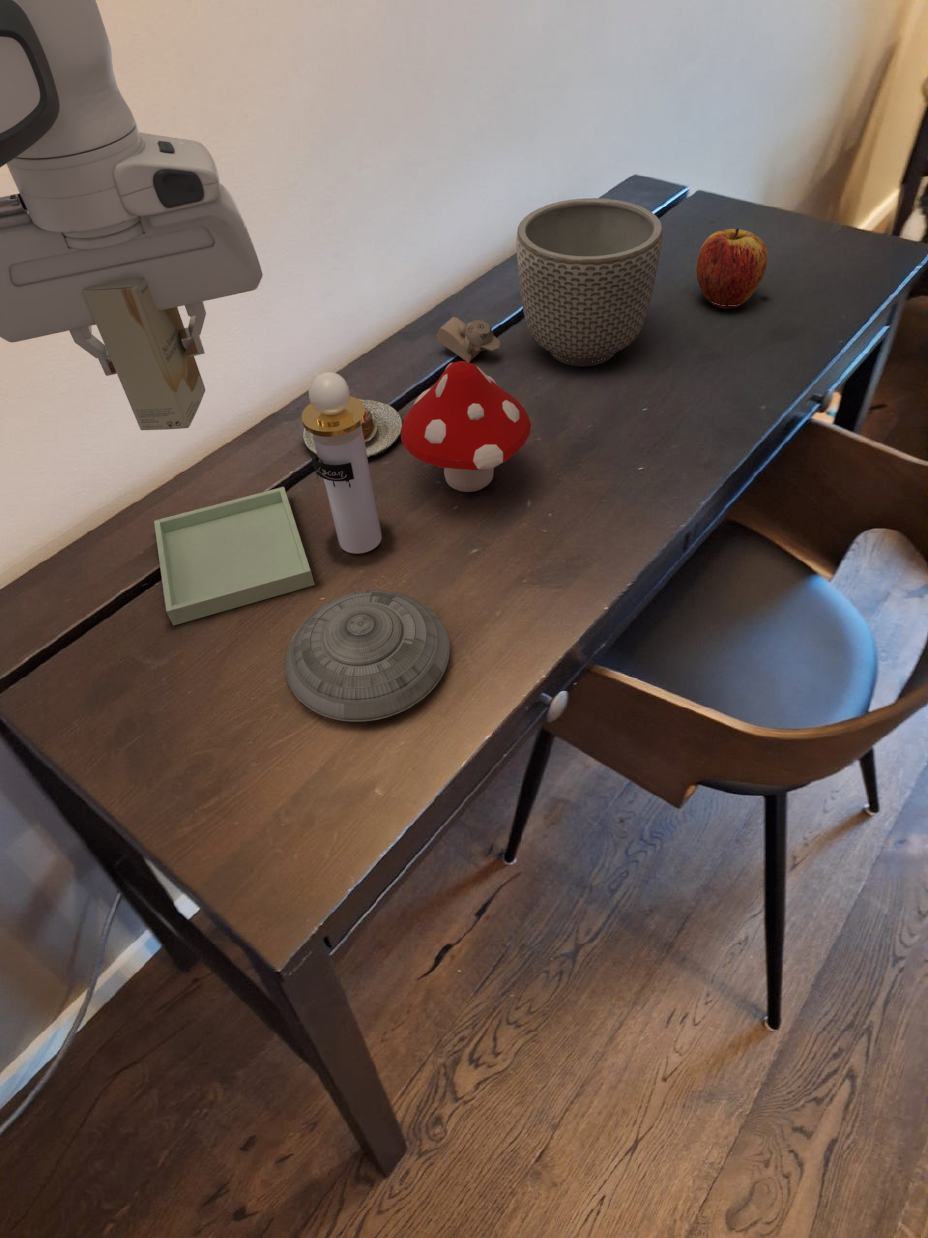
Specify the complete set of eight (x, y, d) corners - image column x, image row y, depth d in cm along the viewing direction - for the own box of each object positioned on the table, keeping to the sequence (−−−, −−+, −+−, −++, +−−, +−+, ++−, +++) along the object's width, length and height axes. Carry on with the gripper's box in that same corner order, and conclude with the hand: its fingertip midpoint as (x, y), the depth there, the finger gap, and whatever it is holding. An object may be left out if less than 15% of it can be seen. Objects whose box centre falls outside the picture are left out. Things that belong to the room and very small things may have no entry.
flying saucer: (367, 580, 82) (358, 540, 78) (484, 649, 75) (481, 609, 71) (254, 676, 74) (238, 637, 70) (372, 761, 67) (361, 724, 63)
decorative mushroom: (447, 432, 97) (435, 315, 86) (552, 460, 93) (555, 340, 81) (385, 503, 89) (364, 383, 78) (497, 538, 85) (492, 415, 73)
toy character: (479, 381, 108) (494, 348, 103) (431, 347, 109) (443, 312, 104) (495, 366, 110) (509, 333, 105) (448, 332, 111) (460, 298, 106)
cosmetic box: (190, 430, 68) (136, 288, 58) (139, 433, 68) (78, 292, 59) (208, 387, 72) (160, 248, 63) (160, 389, 72) (106, 252, 63)
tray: (173, 625, 79) (166, 611, 78) (160, 535, 88) (153, 520, 87) (315, 585, 82) (310, 570, 80) (288, 500, 91) (283, 486, 89)
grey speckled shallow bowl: (323, 404, 103) (315, 372, 100) (414, 410, 101) (409, 377, 98) (291, 462, 96) (282, 429, 92) (388, 470, 93) (383, 436, 90)
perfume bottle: (349, 520, 88) (312, 353, 73) (397, 531, 86) (369, 362, 71) (324, 555, 84) (280, 387, 70) (373, 568, 83) (339, 398, 68)
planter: (650, 319, 112) (664, 197, 100) (647, 389, 101) (662, 261, 89) (526, 315, 115) (525, 196, 103) (509, 383, 104) (506, 258, 92)
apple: (679, 308, 113) (690, 236, 106) (706, 281, 118) (718, 210, 111) (742, 324, 110) (757, 250, 102) (767, 295, 114) (783, 222, 107)
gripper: (-77, 229, 52) (23, 412, 63) (237, 168, 56) (284, 351, 66) (-68, 194, 56) (25, 371, 67) (225, 140, 60) (270, 316, 70)
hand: (156, 361), depth 66 cm, fingers closed on cosmetic box, 5 cm apart
